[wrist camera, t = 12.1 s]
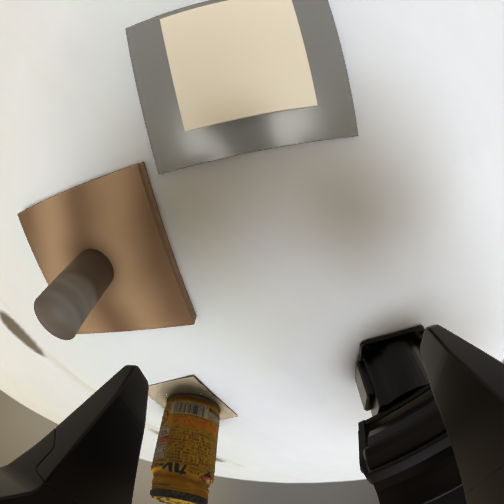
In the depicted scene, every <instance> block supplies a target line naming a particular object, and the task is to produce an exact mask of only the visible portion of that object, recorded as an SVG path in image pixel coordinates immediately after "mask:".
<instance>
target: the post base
mask: <svg viewBox="0 0 504 504" xmlns="http://www.w3.org/2000/svg"><path fill="white" fill-rule="evenodd" d="M18 217H19V220H20V222H21V225H22V227H23V230H24V233H25V235H26V237H27V240H28V242H29V245H30V247H31V249H32V252H33V254H34V256H35V258H36V260H37V263H38V265H39V267H40V269H41V271H42V273H43V275H44V277H45V279H46V281H47V283H48V285H49V286H48V287H47V288H46V289H45V290H44V291H43V292H42V293H41V294H40V295H39V297H38V298H37V299H36V300H35V302H34V310H35V314H36V316H37V318H38V320H39V321H40V323H41V324H42V325H43V327H44V328H45V329H46V330H47V331H48V332H50V333H51V334H52V335H54V336H56V337H58V338H60V339H63V340H70V339H72V338H74V337H75V335H76V334H90V333H107V332H121V331H134V330H145V329H156V328H166V327H176V326H185V325H193V324H194V323H195V319H196V314H195V312H194V309H193V307H192V304H191V302H190V299H189V296H188V294H187V291H186V289H185V286H184V283H183V281H182V278H181V275H180V273H179V270H178V267H177V265H176V262H175V259H174V256H173V253H172V251H171V248H170V245H169V242H168V239H167V236H166V233H165V230H164V227H163V224H162V221H161V218H160V215H159V212H158V209H157V206H156V203H155V199H154V196H153V193H152V190H151V186H150V183H149V180H148V176H147V173H146V169H145V166H144V162H142V163H139V164H136V165H133V166H130V167H127V168H124V169H121V170H118V171H115V172H112V173H110V174H107V175H104V176H102V177H99V178H96V179H94V180H91V181H89V182H86V183H84V184H81V185H79V186H76V187H74V188H71V189H69V190H67V191H64V192H62V193H60V194H57V195H55V196H53V197H51V198H48V199H46V200H44V201H42V202H40V203H38V204H36V205H34V206H31V207H29V208H27V209H25V210H24V211H22V212H20V213H19V214H18Z"/></svg>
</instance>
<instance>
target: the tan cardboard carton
mask: <svg viewBox="0 0 504 504" xmlns="http://www.w3.org/2000/svg"><path fill="white" fill-rule="evenodd" d="M160 23H161V28H162V33H163V38H164V43H165V47H166V52H167V57H168V61H169V66H170V70H171V75H172V79H173V84H174V88H175V92H176V97H177V101H178V105H179V109H180V113H181V118H182V122H183V126H184V130H185V132H186V131H190V130H195V129H199V128H203V127H207V126H211V125H215V124H220V123H224V122H228V121H233V120H237V119H242V118H247V117H252V116H257V115H262V114H268V113H274V112H280V111H286V110H293V109H300V108H306V107H312V106H317V105H318V104H317V99H316V94H315V90H314V85H313V80H312V76H311V71H310V67H309V62H308V58H307V54H306V50H305V46H304V42H303V38H302V34H301V31H300V27H299V23H298V20H297V16H296V13H295V10H294V6H293V3H292V0H227V1H222V2H218V3H213V4H209V5H205V6H201V7H197V8H194V9H190V10H187V11H183V12H180V13H177V14H174V15H171V16H168V17H165V18H162V19H160Z"/></svg>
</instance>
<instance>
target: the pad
mask: <svg viewBox="0 0 504 504" xmlns="http://www.w3.org/2000/svg"><path fill="white" fill-rule="evenodd" d="M222 1H227V0H209V1H205V2H201V3H198V4H194V5H190V6H187V7H183V8H180V9H177V10H174V11H171V12H168V13H165V14H162V15H159V16H156V17H153V18H151V19H148V20H145V21H143V22H140V23H138V24H135V25H133V26H131V27H128V28H126V35H127V41H128V46H129V52H130V57H131V62H132V67H133V72H134V77H135V81H136V86H137V91H138V95H139V99H140V104H141V108H142V112H143V116H144V120H145V124H146V128H147V132H148V136H149V140H150V144H151V148H152V152H153V155H154V159H155V163H156V166H157V170H158V173H159V174H163V173H166V172H170V171H173V170H177V169H181V168H185V167H188V166H192V165H196V164H200V163H204V162H209V161H213V160H217V159H221V158H226V157H230V156H235V155H240V154H244V153H249V152H254V151H260V150H265V149H270V148H276V147H281V146H287V145H293V144H300V143H306V142H313V141H320V140H328V139H336V138H344V137H354V136H358V130H357V123H356V117H355V111H354V105H353V100H352V94H351V89H350V84H349V79H348V74H347V70H346V65H345V61H344V56H343V52H342V48H341V44H340V40H339V37H338V33H337V29H336V26H335V22H334V19H333V15H332V12H331V9H330V6H329V3H328V0H292V3H293V6H294V10H295V13H296V16H297V20H298V23H299V27H300V31H301V34H302V38H303V42H304V46H305V50H306V54H307V58H308V62H309V67H310V71H311V76H312V80H313V85H314V90H315V94H316V99H317V104H318V105H317V106H312V107H306V108H300V109H293V110H286V111H280V112H274V113H268V114H262V115H257V116H252V117H247V118H242V119H237V120H233V121H228V122H224V123H220V124H215V125H211V126H207V127H203V128H199V129H195V130H190V131H186V132H185V130H184V126H183V122H182V118H181V113H180V109H179V105H178V101H177V97H176V92H175V88H174V84H173V79H172V75H171V70H170V66H169V61H168V57H167V52H166V47H165V43H164V38H163V33H162V28H161V23H160V19H162V18H165V17H168V16H171V15H174V14H177V13H180V12H183V11H187V10H190V9H194V8H197V7H201V6H205V5H209V4H213V3H218V2H222Z"/></svg>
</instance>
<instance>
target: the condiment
mask: <svg viewBox="0 0 504 504" xmlns="http://www.w3.org/2000/svg"><path fill="white" fill-rule="evenodd" d="M201 393H202V394H201ZM166 394H167V395H166ZM148 395H149V396H150V398H151V399H153V400H154V401H156V402H157V403H158V404H159V405H161V406H162V407H163V408H165V410H164V414H163V417H162V422H161V427H160V431H159V435H158V440H157V444H156V449H155V453H154V458H153V463H152V466H151V471H152V474H153V475H154V478H153V480H152V490H151V491H150V495H151V496H152V497H153V498H154V499H156V500H158V501H160V502H163V503H166V504H207V503H208V494H209V490H208V488H209V487H210V485H211V484H212V483H213V480H214V472H215V461H216V450H217V439H218V430H219V420H220V419H228V418H233V417H237V415H236V414H235V413H234V412H232V411H231V410H230V409H229V408H228V407H227V406H226V405H225V404H224V403H223V402H221V401H220V400H219V399H218V398H217V397H215V396H214V395H212V393H211V392H210V391H209V390H208V389H207V388H206V387H205V386H203V385H202V384H201V383H199V382H198V381H197V380H196V379H195V378H194V377H193V376H192V377H188V378H181V379H177V380H171V381H167V382H164V383H159V384H156V385H150V386H149V391H148ZM166 396H168V397H166Z"/></svg>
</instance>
